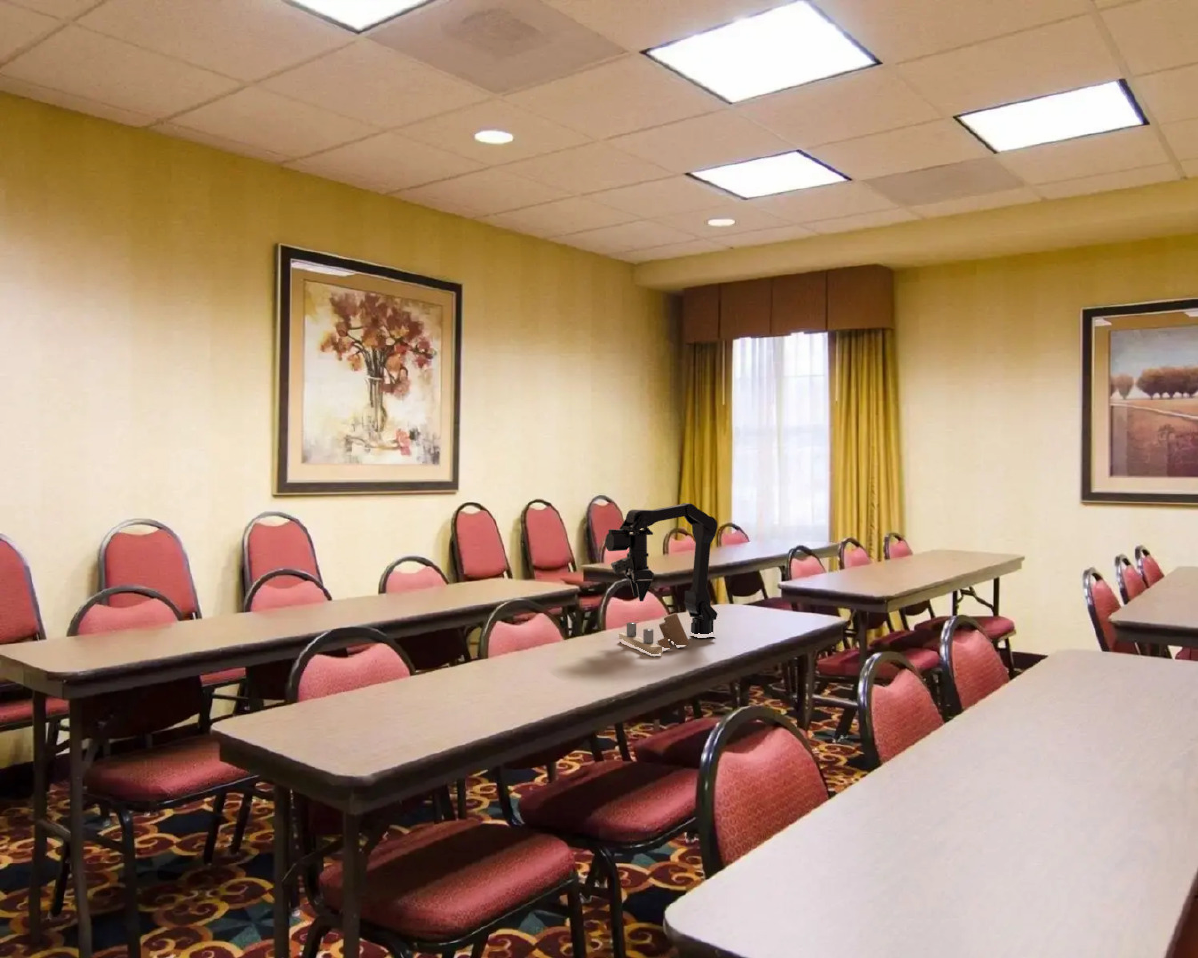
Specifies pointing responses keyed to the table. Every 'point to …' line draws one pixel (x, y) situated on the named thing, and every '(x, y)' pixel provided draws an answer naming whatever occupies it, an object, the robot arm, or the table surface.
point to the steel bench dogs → (646, 633)
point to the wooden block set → (672, 631)
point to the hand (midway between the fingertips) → (638, 599)
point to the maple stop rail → (641, 644)
